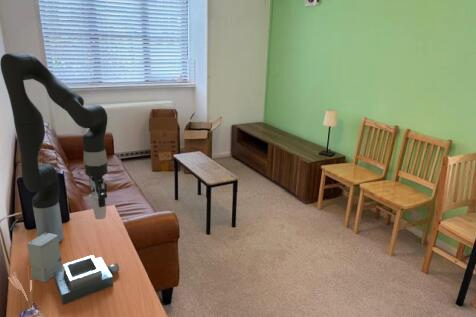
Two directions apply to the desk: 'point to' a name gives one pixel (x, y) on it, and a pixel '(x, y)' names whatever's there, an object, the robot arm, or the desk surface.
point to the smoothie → (98, 211)
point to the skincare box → (45, 256)
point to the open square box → (83, 278)
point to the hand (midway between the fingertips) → (99, 202)
